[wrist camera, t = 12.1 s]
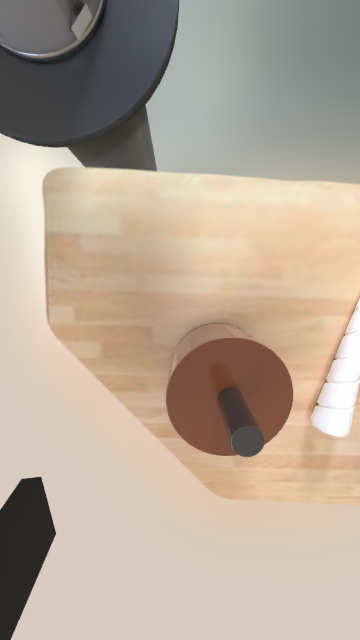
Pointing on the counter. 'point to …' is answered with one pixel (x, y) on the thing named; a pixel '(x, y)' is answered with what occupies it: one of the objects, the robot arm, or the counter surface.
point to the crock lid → (229, 396)
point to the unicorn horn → (341, 384)
